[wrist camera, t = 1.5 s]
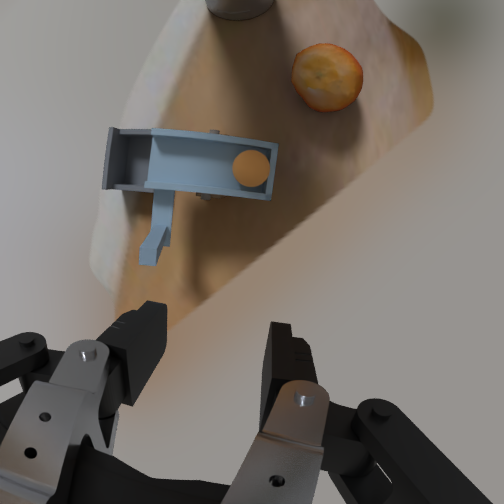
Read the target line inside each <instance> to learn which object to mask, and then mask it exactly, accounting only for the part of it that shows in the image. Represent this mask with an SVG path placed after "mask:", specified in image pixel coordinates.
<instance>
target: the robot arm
mask: <svg viewBox="0 0 504 504" xmlns="http://www.w3.org/2000/svg"><path fill="white" fill-rule="evenodd" d="M273 1H274V0H205V2H206V4H207V7H208V8H209V10H210V11H211V12H212V13H213V14H215V15H216V16H218V17H221V18H224V19H228V20H245V19H250V18H253V17H256V16H258V15H260V14H262V13H264V12H265V11H266V10H268V9H269V7H270V6H271V5H272V3H273ZM166 343H167V305H166V304H163V303H158V302H153V301H146V302H145V303H144V304H143V305H142V306H141V307H140V308H139V309H138V310H131V311H129V312H126V313H124V314H122V315H121V316H120V317H119V318H118V319H117V320H116V321H115V322H114V323H113V324H112V325H111V326H110V327H109V328H108V329H106V331H104V332H103V333H102V334H101V335H100V336H99V337H98V338H97V339H96V340H80V341H77V342H74V343H72V344H71V345H70V346H69V347H68V348H67V350H66V352H65V351H56V350H49V349H48V348H47V344H46V340H45V338H44V337H43V336H42V335H40V334H38V333H34V332H26V333H21V334H18V335H15V336H13V337H11V338H8V339H5V340H3V341H0V386H2V385H4V384H6V383H8V382H10V381H12V380H14V379H16V378H19V381H20V384H21V386H22V389H23V392H22V393H20V394H18V395H16V396H14V397H12V398H10V399H8V400H6V401H4V402H2V403H0V504H312V500H313V497H314V493H315V489H316V485H317V480H318V476H319V472H320V470H324V471H328V474H329V476H330V478H331V480H332V481H333V483H334V484H335V486H336V487H337V489H338V491H339V493H340V494H341V496H342V497H343V499H344V501H345V502H346V504H493V503H492V502H490V500H489V499H488V498H487V497H486V496H485V495H484V494H483V493H482V492H481V491H480V490H479V489H478V488H477V487H476V486H475V485H474V484H473V483H472V482H471V481H470V480H469V479H468V478H467V477H466V476H465V475H464V474H463V473H462V472H461V471H460V470H459V469H458V468H457V467H456V466H455V465H454V464H453V463H452V462H451V461H450V460H449V459H448V458H447V457H446V456H445V455H444V454H443V453H442V452H441V451H440V450H439V449H438V448H437V447H436V446H435V445H434V444H433V443H432V442H431V441H430V440H429V439H428V438H427V437H426V436H425V435H424V433H423V432H422V431H420V430H419V428H418V427H417V426H416V425H415V424H414V423H413V422H412V421H411V420H410V419H409V418H408V417H407V416H406V415H405V414H404V413H403V412H402V411H401V410H400V409H399V408H398V407H397V406H396V405H394V404H393V403H391V402H389V401H386V400H383V399H375V398H374V399H367V400H365V401H363V402H361V403H360V404H359V406H358V408H357V409H353V408H349V407H345V406H341V405H338V404H335V403H333V402H331V401H330V398H329V394H328V392H327V391H326V390H325V389H324V388H323V387H321V386H320V385H318V381H317V376H316V371H315V367H314V363H313V358H312V356H311V354H312V353H311V349H310V346H309V345H308V344H307V342H306V341H305V340H304V339H303V338H297V337H292V331H291V324H286V323H278V322H271V324H270V328H269V334H268V339H267V345H266V350H265V356H264V361H263V369H262V386H261V405H260V423H259V432H258V434H257V436H256V437H255V440H254V442H253V444H252V445H251V447H250V449H249V451H248V453H247V455H246V457H245V460H244V461H243V463H242V465H241V467H240V469H239V471H238V473H237V475H236V477H235V479H234V481H233V482H232V484H231V485H224V484H218V483H211V482H206V481H201V480H172V479H156V478H151V477H148V476H147V475H145V474H143V473H141V472H139V471H138V470H136V469H134V468H132V467H131V466H129V465H127V464H125V463H124V462H122V461H120V460H119V459H117V458H116V457H114V456H112V454H113V448H114V441H115V436H116V430H117V425H118V419H119V412H118V408H119V406H120V405H121V403H123V404H126V405H129V406H133V405H134V403H135V402H136V400H137V398H138V396H139V395H140V393H141V391H142V390H143V388H144V386H145V385H146V383H147V381H148V379H149V378H150V376H151V374H152V373H153V371H154V369H155V368H156V366H157V364H158V363H159V361H160V359H161V358H162V356H163V354H164V352H165V348H166ZM377 463H378V464H379V465H380V467H381V468H382V469H383V471H384V472H385V473H386V474H387V476H388V477H389V478H390V480H391V482H392V483H391V482H390V481H389V479H388V478H387V477H386V476H385V474H384V473H383V472H382V470H381V469H380V468H379V466H378V465H377Z"/></svg>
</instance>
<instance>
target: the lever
mask: <svg viewBox="0 0 504 504" xmlns="http://www.w3.org/2000/svg"><path fill="white" fill-rule="evenodd" d="M151 135H152V136H153V140H152V147H151V154H150V162H149V170H148V179H147V181H145V184H144V188H153V189H154V198H153V209H152V222H151V232H150V233H149V234H148V236H147V237H146V239H145V240H144V242H143V243H142V245H141V246H140V253H139V265H150V266H156V264H157V262H158V259H159V256H160V253H161V250H162V248H163V246H168V247H170V238H171V226H172V214H173V204H174V194H175V190H177V191H188V192H198V193H208V194H218V195H227V196H236V197H244V198H253V199H261V200H269V201H271V196H272V189H273V182H274V175H275V167H276V160H277V153H278V146H279V144H278V143H272V142H266V141H260V140H254V139H248V138H241V137H234V136H227V135H219V134H211V133H203V132H193V131H183V130H172V129H158V128H152V130H151ZM247 150H256V151H259V152H261V153H262V154H264V155H265V156H266V158H267V159H268V161H269V164H270V173H269V176H268V178H267V179H266V181H265V182H263V183H262V184H261V185H259V186H255V187H247V186H244V185H242V184H240V183H239V182H238V181H237V180H236V179H235V177H234V175H233V171H232V166H233V162H234V160H235V158H236V157H237V156H238V155H239V154H240V153H242V152H244V151H247Z"/></svg>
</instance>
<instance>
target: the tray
mask: <svg viewBox="0 0 504 504" xmlns="http://www.w3.org/2000/svg"><path fill="white" fill-rule="evenodd" d="M151 130H152V129H117V128H114V127H110V128H109V133H108V140H107V146H106V154H105V162H104V171H103V181H102V189H105V190H107V189H117V190H129V191H140V192H151V193H154V189H153V188H144V184H145V181H147V179H148V170H149V162H150V154H151V147H152V140H153V136H152V135H151Z"/></svg>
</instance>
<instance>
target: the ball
mask: <svg viewBox="0 0 504 504" xmlns="http://www.w3.org/2000/svg"><path fill="white" fill-rule="evenodd" d="M232 171H233V175H234V177H235V179H236V180H237V181H238V182H239V183H240V184H242V185H244V186H247V187H255V186H259V185H261V184H262V183H263V182H265V181H266V179H267V178H268V176H269V173H270V164H269V161H268V159H267V158H266V156H265V155H264V154H262V153H261V152H259V151H256V150H247V151H244V152H242V153H240V154H239V155H238V156H237V157H236V158H235V160H234V162H233V166H232Z"/></svg>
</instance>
